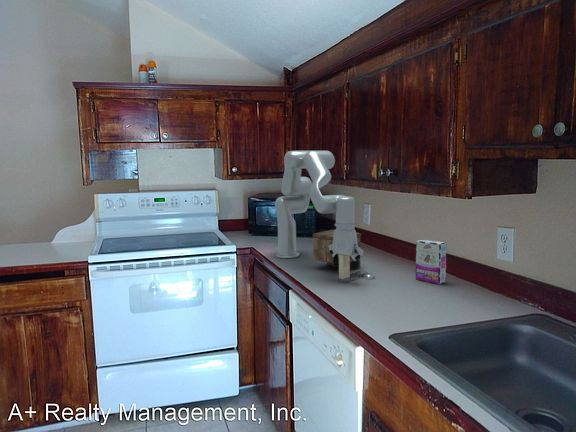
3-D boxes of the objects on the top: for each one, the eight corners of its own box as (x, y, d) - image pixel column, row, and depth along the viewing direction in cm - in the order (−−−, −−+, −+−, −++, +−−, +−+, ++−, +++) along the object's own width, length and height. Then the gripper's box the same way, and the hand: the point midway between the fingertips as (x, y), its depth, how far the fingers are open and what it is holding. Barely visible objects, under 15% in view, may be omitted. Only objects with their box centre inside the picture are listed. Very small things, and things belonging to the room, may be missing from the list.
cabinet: (311, 268, 199) (311, 234, 197) (333, 262, 210) (333, 229, 208) (339, 274, 187) (339, 238, 185) (361, 267, 198) (361, 233, 196)
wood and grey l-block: (337, 281, 177) (337, 254, 176) (360, 273, 188) (360, 248, 187) (345, 283, 174) (344, 255, 173) (368, 275, 185) (368, 249, 184)
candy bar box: (446, 282, 172) (447, 242, 169) (439, 285, 168) (440, 243, 166) (421, 277, 180) (422, 238, 178) (414, 279, 177) (415, 240, 175)
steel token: (363, 280, 179) (363, 276, 179) (362, 276, 184) (362, 273, 184) (375, 279, 179) (375, 276, 179) (374, 276, 184) (374, 273, 184)
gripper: (323, 226, 178) (323, 266, 180) (357, 230, 166) (357, 273, 168) (334, 223, 183) (335, 263, 186) (368, 227, 171) (368, 269, 173)
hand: (345, 267), depth 177 cm, fingers open, 9 cm apart
